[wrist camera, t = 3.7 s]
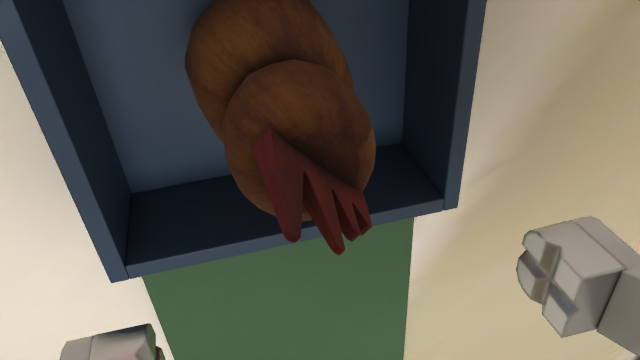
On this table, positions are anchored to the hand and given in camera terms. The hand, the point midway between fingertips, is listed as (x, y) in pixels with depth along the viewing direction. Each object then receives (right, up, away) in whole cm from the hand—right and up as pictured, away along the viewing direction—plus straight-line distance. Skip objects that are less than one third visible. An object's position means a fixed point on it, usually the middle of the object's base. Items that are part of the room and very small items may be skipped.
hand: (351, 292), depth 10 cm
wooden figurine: (-4, +9, +12) cm, 16 cm away
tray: (-4, +9, +12) cm, 16 cm away
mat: (-3, -7, +24) cm, 25 cm away
